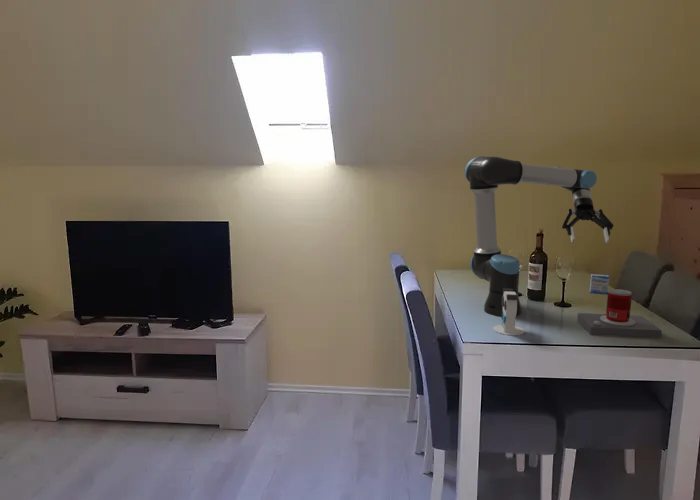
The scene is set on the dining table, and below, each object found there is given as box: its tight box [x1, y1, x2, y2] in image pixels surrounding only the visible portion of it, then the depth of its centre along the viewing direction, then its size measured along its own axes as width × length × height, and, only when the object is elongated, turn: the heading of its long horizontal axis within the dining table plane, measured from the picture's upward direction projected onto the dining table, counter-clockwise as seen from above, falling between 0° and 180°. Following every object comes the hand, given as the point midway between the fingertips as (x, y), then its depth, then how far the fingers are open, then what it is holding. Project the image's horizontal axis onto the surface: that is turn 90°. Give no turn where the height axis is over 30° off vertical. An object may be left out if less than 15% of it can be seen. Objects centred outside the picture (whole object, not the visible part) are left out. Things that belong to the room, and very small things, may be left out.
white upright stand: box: [492, 288, 525, 336], centre depth 197 cm, size 12×11×15 cm
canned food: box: [605, 288, 633, 322], centre depth 198 cm, size 8×8×11 cm
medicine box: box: [589, 273, 610, 295], centre depth 253 cm, size 8×4×9 cm, turn 68°
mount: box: [577, 312, 662, 339], centre depth 200 cm, size 24×18×4 cm
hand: (590, 241), depth 219 cm, fingers open, 13 cm apart
